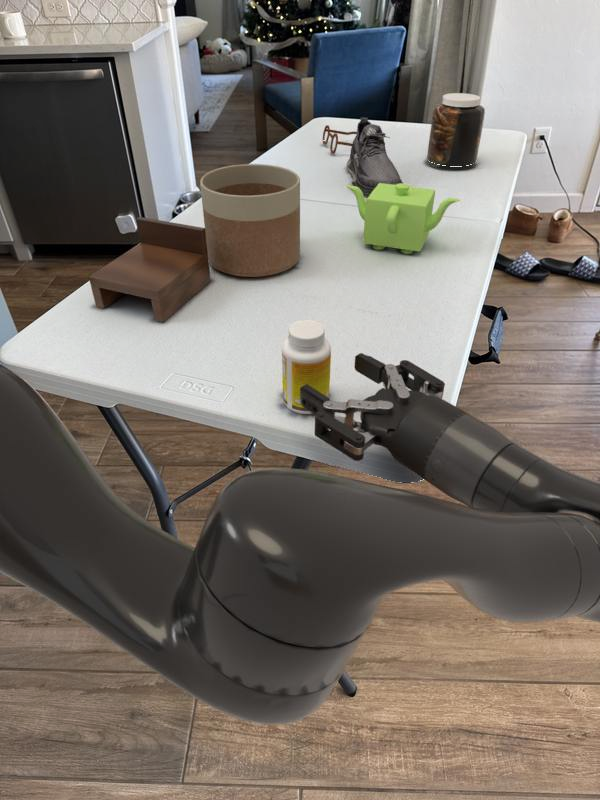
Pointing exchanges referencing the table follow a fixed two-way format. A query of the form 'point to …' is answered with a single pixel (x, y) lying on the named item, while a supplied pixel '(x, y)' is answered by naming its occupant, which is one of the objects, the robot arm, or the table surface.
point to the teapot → (399, 215)
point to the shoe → (370, 159)
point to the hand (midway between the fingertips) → (330, 375)
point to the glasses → (336, 138)
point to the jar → (455, 132)
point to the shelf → (157, 268)
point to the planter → (252, 219)
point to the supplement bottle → (305, 362)
